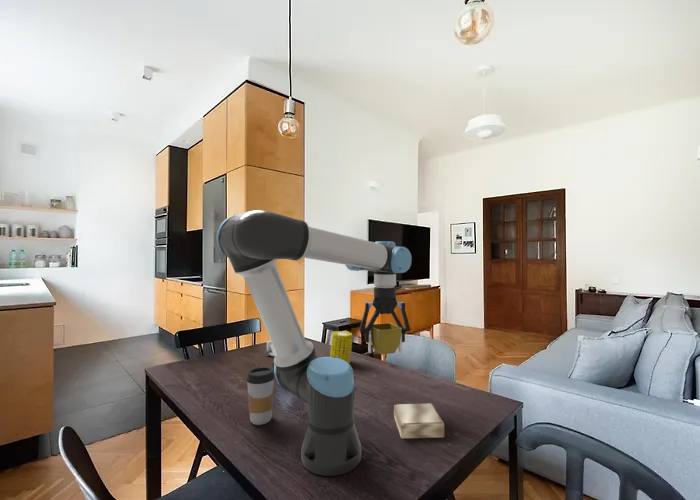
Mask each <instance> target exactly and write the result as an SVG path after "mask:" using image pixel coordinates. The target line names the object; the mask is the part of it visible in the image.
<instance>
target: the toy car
mask: <svg viewBox="0 0 700 500" xmlns="http://www.w3.org/2000/svg"><path fill="white" fill-rule="evenodd" d="M263 355H264V356H265V357H269V356H271V357H275V355H276V352H275V349H274V347H273V344H272V342H271V340H269V341H266V350H264V352H263Z"/></svg>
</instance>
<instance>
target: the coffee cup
mask: <svg viewBox="0 0 700 500" xmlns="http://www.w3.org/2000/svg"><path fill="white" fill-rule="evenodd" d="M274 380H275V371H274V370H273V368H271V367H268V366H260V367H254V368H251V369H250V370H248V372H247V374H246V383H247V398H248V399H247V401H248V412H249V420H250V423H252V425H255V426H261V425H262V426H263V425H265V424H268V423H269V422H270V421H271V420H272V416H273V415H272V414H273V407H274V406H273V405H274V403H273V402H274V382H275V381H274Z"/></svg>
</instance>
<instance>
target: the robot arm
mask: <svg viewBox="0 0 700 500" xmlns="http://www.w3.org/2000/svg"><path fill="white" fill-rule="evenodd" d="M216 244H217V247H218V249H219V251H220V253H222V254H223V256H225V257H227V258H228V259H229V262H230V264H231V267H232V268H233V270H234V274H237V275H239V276H242V277H243V279H244V281H245V283H246V286H247V287H248V291H249V292H250V293H249V294H250V295H251V297H252V299H253V302H254V305H255V307H256V309H257V312H258V314H259V315H260V319H261V320H262V323H263V325H264V328H265V330H266V332H267V336H269V337H268V338H269V339H270V340H269V341H271V342H272V344H273V347H274V349H275V352H276V355H275V356H274V358H273V364H274V366H275V367H274V379H275V381H276V382H277V384H278V385H279V387H280V388H281V390H283V391H284V392H285V393H287V394H289V395H290V396H292V397H294V398H295V399H296V400H298V401H300V402H301V403H302V404H304V405H305V406H307V429H306V432H305V436H304V439H303V442H302V446H301V452H300V455H301V457H300V458H301V460H300V461H301V464H302V465H303V467H304V468H305V469H306V470H307V471H309V472H311V473H313V474H315V475H319V476H324V477H325V476H326V477H334V476H335V477H336V476H341V475H345V474H347V473H349V472H351V471H352V470H354V469H355V468H357V466H359V464H360V462H361V461H362V445H361V441H360V438H359V435H358V432H357V429H356V425H355V376H354V369H353V368H352V366H351V364H350V363H349V364H348V363H347V362H346V361H344V360H342V359H339V358H332V357H330V356H322V357H321V356H320V357H319V356H318V353H317V350H316V349H315V346H314V344H313V342H311V341H310V340H307V339H306V338H305V336H304V333H303V331H302V328H301V326H300V323H299V321H298V320H299V319H298V317H297V316H296V313H295V310H294V307H293V305H292V303H291V300H290V298H289V295H288V293H287V290H286V288H285V287H286V286H285V285H284V283H283V280H282V278H281V275H280V272H279V270H278V267H277V265H276V262H277V261H278V260H289V261H295V262H296V261H300V260H301V259H302V258H303V259H308V260H309V259H310V260H315V261H322V262H327V263H328V262H329V263H334V264H340V265H344V266H345V267H346V269H348V270H349V271H354V272H355V271H356V272H359V271H365V272H366V271H369V272H373V278H374V279H373V285H374V287H373V301H372V302H371V301H369V302H368V301H365V302H364V312H363V316H362V319H361V321H360V326H359V330H360V332H363V333H364V339H365V344H366V343H367V344H368V345H367V347H368V348H367V349H368V350H367V351H368V353H369V354H372V343H371V332H369V331H370V330H371V328H372V326H373V324H375V322H376V321H377V318H378V317H379V316H380V315H385V314H386V315H391V316H392V318H393V319H394V321H395V323H396V326H399V327H401V328H402V332H401V339H400V344H399V346H398V348H397V350H398V353H401V354H402V353H403V343H405V342H406V333H407V332H410V331H411V326H410V322H409V319H408V315H407V312H406V303H405V302H404V301H397V288H396V287H395V286H397V274H403V273H407V271H408V270H410V268H411V266H412V254H411V252H410V250H409V249H408V248H407V247H406V246H399V245H398V246H396V243H395V242H394V241H392V240H391V241H388V240H387V241H385V240H384V241H382V240H381V241H375V242H374V241H369V240H365V239H361V238H358V237H353V236H350V235H345V234H341V233H337V232H332V231H328V230H324V229H321V228H316V227H311V226H309V224H308V223H307V222H306V220H305V221H304V220H301V219H297V218H294V217H291V216H287V215H283V214H280V213H276V212H273V211H271V210H270V211H269V210H263V209H256V210H250V211H245V212H239V213H236V214H233V215H230V216H229V217H228V218H227V217H226V218H225V219H224V220H223V221H222V222H221V223H220V225H219V227H218V229H217V231H216ZM372 306H373V307H374V309H375V310H374V312H373V314H372V317H371V318H370V320H369V322H368V323H367V320H368V316H369V313H370V310H371V309H372ZM397 306H398V308H399V309H400V313H401V317H402V320H403V323H404V324H402V323H401V321H400V319H399V317H398V315H397V314H396V312H395V309H396V308H397ZM366 323H367V325H366ZM403 325H404V326H403Z"/></svg>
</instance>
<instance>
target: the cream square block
mask: <svg viewBox="0 0 700 500" xmlns="http://www.w3.org/2000/svg"><path fill="white" fill-rule="evenodd" d="M393 418H394V420H395V424H396V427H397V430H398V433H399V436H400V439H425V438H427V439H430V438H431V439H433V438H434V439H435V438H445V423H444V421H443V420H442V418H441V416H440V414H439V413H438V411H437V410H436V408H435V406H434V404H433V403H402V404H401V403H399V404H398V403H397V404H394V405H393Z"/></svg>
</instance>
